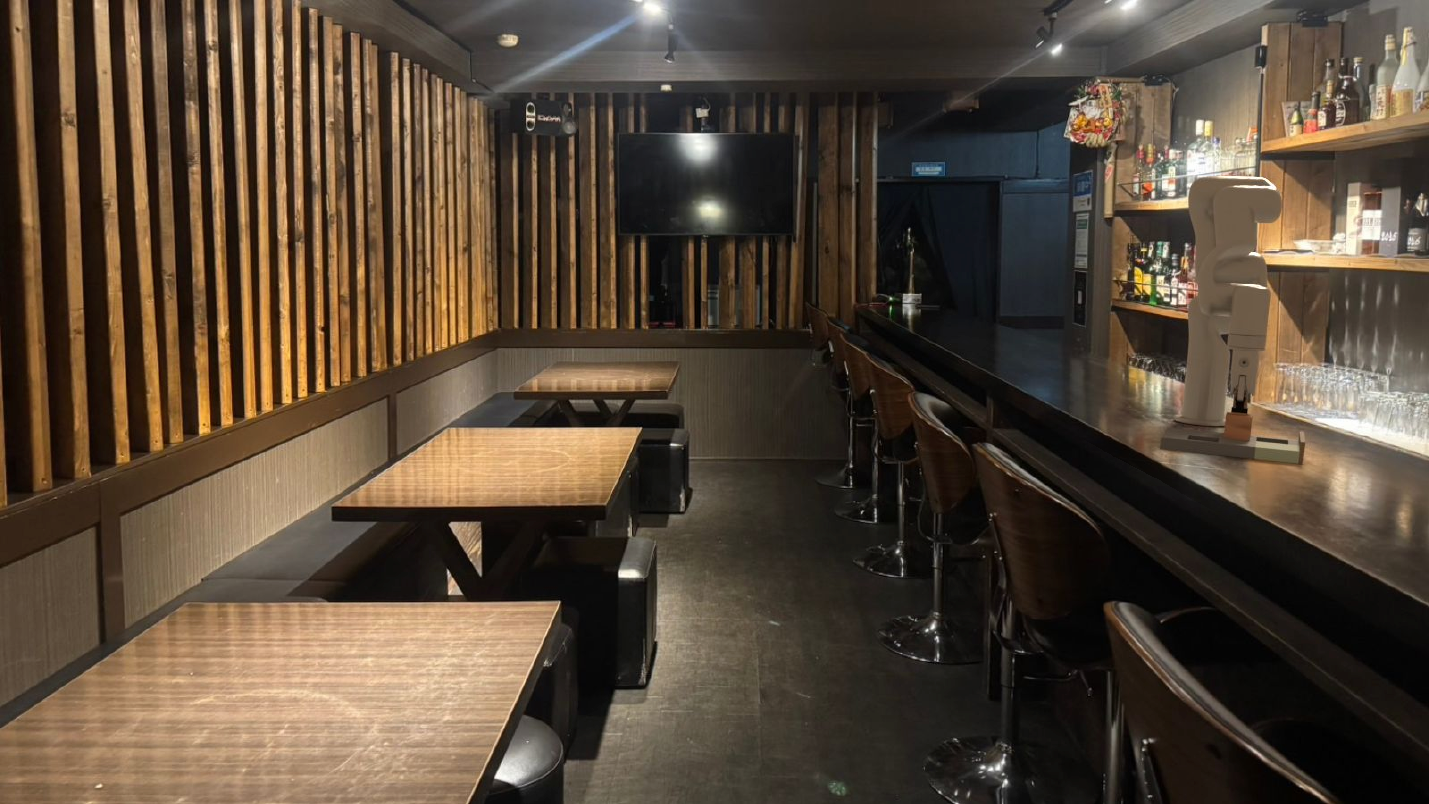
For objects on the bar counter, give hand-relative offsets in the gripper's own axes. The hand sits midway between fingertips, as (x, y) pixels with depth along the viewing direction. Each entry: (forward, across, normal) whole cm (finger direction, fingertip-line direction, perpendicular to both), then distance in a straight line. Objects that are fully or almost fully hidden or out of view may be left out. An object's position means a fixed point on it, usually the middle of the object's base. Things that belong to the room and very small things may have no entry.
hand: (1237, 425), depth 244 cm
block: (+1, -9, 0) cm, 9 cm away
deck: (+4, -11, +1) cm, 12 cm away
